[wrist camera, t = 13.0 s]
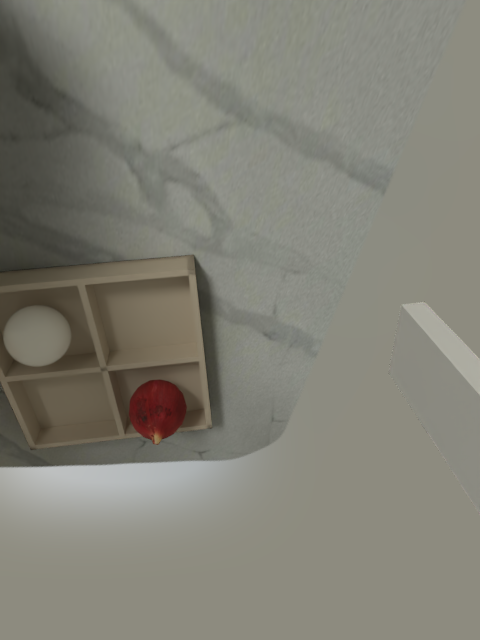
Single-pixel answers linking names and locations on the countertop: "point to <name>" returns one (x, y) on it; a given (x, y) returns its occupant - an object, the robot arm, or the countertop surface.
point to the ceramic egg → (37, 335)
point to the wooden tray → (106, 347)
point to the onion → (157, 409)
